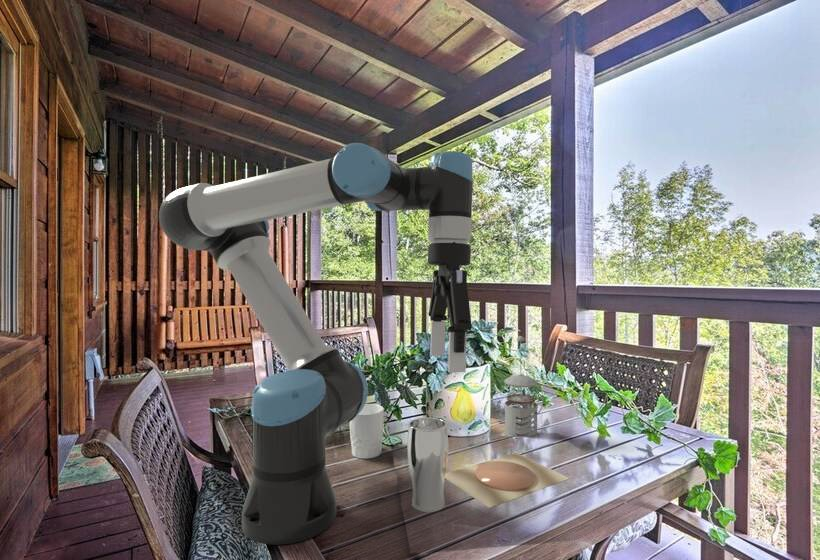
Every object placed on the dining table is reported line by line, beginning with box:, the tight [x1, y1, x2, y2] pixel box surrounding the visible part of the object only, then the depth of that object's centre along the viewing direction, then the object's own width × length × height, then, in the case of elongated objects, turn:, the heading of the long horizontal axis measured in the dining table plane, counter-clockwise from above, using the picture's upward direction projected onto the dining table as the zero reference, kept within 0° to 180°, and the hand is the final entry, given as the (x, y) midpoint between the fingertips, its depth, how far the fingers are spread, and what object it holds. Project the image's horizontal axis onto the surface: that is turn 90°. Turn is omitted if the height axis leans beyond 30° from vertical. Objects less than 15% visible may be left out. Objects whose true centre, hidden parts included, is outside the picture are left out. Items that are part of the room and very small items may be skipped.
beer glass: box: [406, 416, 449, 513], centre depth 74 cm, size 7×7×15 cm
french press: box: [500, 335, 545, 438], centre depth 108 cm, size 10×12×25 cm
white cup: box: [349, 403, 385, 460], centre depth 98 cm, size 8×8×10 cm
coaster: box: [476, 461, 534, 491], centre depth 83 cm, size 11×11×1 cm
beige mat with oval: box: [445, 452, 571, 509], centre depth 83 cm, size 20×14×2 cm
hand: (446, 363), depth 77 cm, fingers open, 13 cm apart
